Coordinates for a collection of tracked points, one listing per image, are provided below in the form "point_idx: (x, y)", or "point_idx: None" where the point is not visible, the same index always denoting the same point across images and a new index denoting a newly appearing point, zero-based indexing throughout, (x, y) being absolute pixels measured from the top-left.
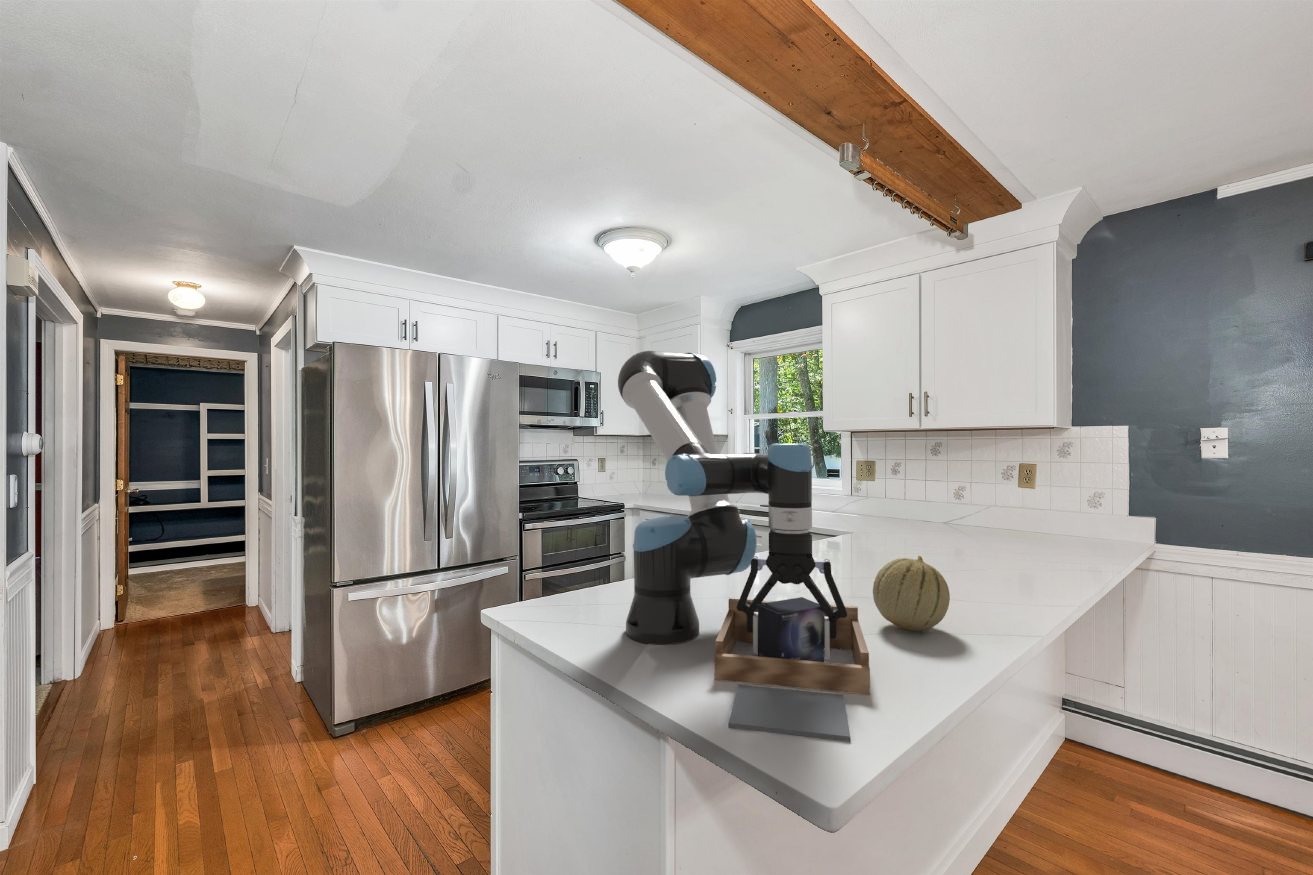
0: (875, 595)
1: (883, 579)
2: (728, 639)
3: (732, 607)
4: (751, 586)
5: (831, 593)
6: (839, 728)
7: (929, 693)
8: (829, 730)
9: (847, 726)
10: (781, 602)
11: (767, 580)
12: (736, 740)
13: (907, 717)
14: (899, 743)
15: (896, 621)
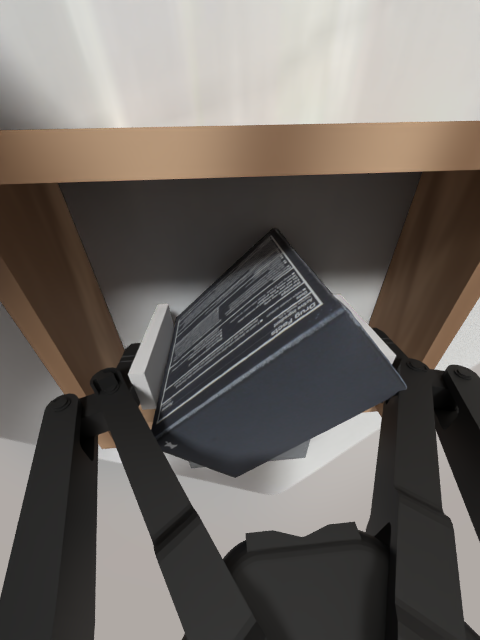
0: None
1: None
2: (93, 353)
3: None
4: (93, 539)
5: (459, 486)
6: (298, 451)
7: (451, 353)
8: (287, 455)
9: (306, 447)
10: (235, 417)
11: (153, 541)
12: (204, 472)
13: None
14: (347, 445)
15: None
